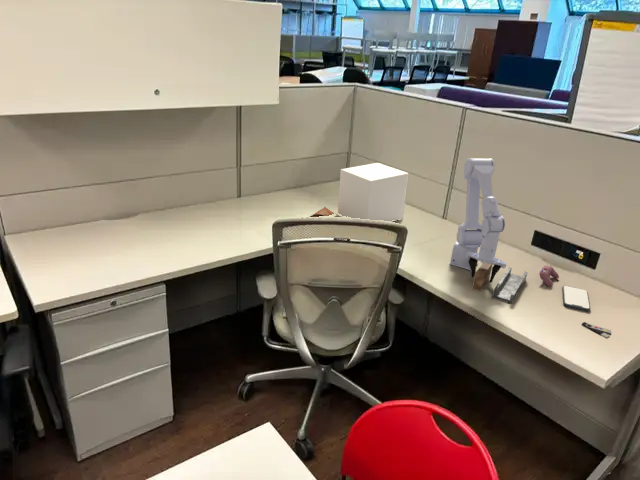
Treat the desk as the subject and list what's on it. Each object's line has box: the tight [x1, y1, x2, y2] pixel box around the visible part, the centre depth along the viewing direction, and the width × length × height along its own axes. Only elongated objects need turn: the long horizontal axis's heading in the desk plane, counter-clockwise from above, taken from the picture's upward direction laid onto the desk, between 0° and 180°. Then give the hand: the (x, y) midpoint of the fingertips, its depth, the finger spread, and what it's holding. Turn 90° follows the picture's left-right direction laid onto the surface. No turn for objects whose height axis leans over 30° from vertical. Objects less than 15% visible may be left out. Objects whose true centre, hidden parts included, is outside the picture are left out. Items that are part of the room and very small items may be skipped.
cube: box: [337, 162, 409, 221], centre depth 241 cm, size 25×21×24 cm
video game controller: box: [539, 265, 560, 288], centre depth 191 cm, size 10×5×7 cm, turn 141°
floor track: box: [492, 266, 529, 304], centre depth 184 cm, size 7×22×4 cm, turn 147°
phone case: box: [561, 285, 591, 313], centre depth 180 cm, size 9×2×16 cm
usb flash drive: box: [581, 321, 612, 338], centre depth 162 cm, size 9×5×1 cm, turn 32°
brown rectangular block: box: [472, 263, 493, 292], centre depth 186 cm, size 3×12×7 cm, turn 147°
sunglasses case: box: [309, 206, 335, 217], centre depth 241 cm, size 18×7×7 cm
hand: (481, 279), depth 187 cm, fingers open, 6 cm apart
